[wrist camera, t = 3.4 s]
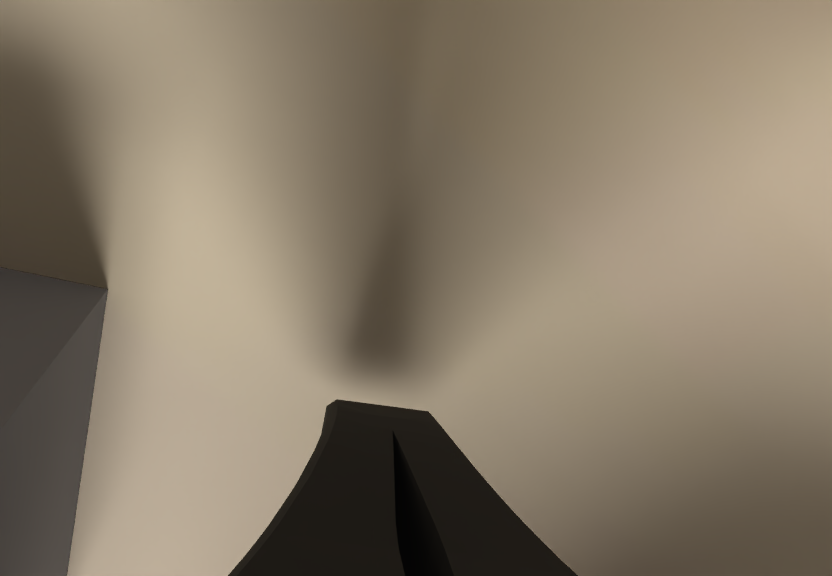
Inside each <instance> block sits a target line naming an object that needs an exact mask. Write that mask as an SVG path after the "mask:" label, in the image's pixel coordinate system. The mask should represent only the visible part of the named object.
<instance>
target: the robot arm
mask: <svg viewBox="0 0 832 576" xmlns="http://www.w3.org/2000/svg"><path fill="white" fill-rule="evenodd" d="M228 576H578V575H576V574H575V573H574V572H573V571H572V570H571V569H570V568H569V567H568V566H567V565H566V564H565V563H563V562H562V561H561V560H560V559H559V558H558V557H557V556H556V555H555V554H554V553H553V552H552V551H551V550H550V549H549V548H548V547H547V546H546V545H545V544H544V543H543V542H542V541H541V540H540V539H539V538H538V537H537V536H536V535H535V534H534V533H533V532H532V531H531V530H530V529H529V528H528V527H527V526H526V525H525V524H524V523H523V521H522V520H521V519H520V518H519V517H518V516H517V515H516V514H515V513H514V512H513V511H512V510H511V509H510V508H509V506H508V505H507V504H506V503H505V502H504V501H503V500H502V499H501V498H500V496H499V495H498V494H497V493H496V492H495V491H494V490H493V488H492V487H491V486H490V485H489V484H488V483H487V482H486V480H485V479H484V478H483V477H482V476H481V474H480V473H479V472H478V471H477V470H476V469H475V467H474V466H473V465H472V464H471V463H470V461H469V460H468V459H467V458H466V456H465V455H464V454H463V453H462V452H461V450H460V449H459V448H458V447H457V445H456V444H455V443H454V442H453V440H452V439H451V438H450V437H449V436H448V434H447V433H446V432H445V431H444V429H443V428H442V427H441V426H440V424H439V423H438V422H437V421H436V420H435V418H434V417H433V416H432V415H431V414H430V413H429V412H428V411H421V410H413V409H405V408H398V407H390V406H382V405H375V404H367V403H360V402H352V401H344V400H335V401H334V402H332V403H331V404H329V405H328V406H327V407H326V412H325V418H324V423H323V428H322V434H321V436H320V439H319V441H318V443H317V446H316V448H315V450H314V452H313V454H312V456H311V458H310V460H309V462H308V463H307V465H306V467H305V469H304V471H303V473H302V475H301V476H300V478H299V480H298V482H297V484H296V485H295V487H294V488H293V490H292V492H291V493H290V495H289V496H288V497H287V499H286V500H285V502H284V503H283V505H282V506H281V508H280V509H279V511H278V512H277V514H276V515H275V517H274V518H273V520H272V521H271V523H270V524H269V525H268V527H267V528H266V530H265V531H264V532H263V534H262V535H261V536H260V537H259V539H258V540H257V541H256V543H255V544H254V545H253V546H252V548H251V549H250V550H249V551H248V553H247V554H246V555H245V556H244V558H243V559H242V560H241V561H240V562H239V563H238V565H237V566H236V567H235V568H234V569H233V570H232V572H231V573H230V574H229V575H228Z"/></svg>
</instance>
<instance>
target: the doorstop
mask: <svg viewBox="0 0 832 576" xmlns="http://www.w3.org/2000/svg"><path fill="white" fill-rule="evenodd" d="M107 293H108V289H104V288H100V287H95V286H90V285H85V284H80V283H75V282H70V281H65V280H60V279H55V278H51V277H46V276H41V275H36V274H31V273H26V272H21V271H16V270H11V269H7V268H2V267H0V576H67V571H68V564H69V557H70V550H71V543H72V536H73V529H74V522H75V515H76V509H77V502H78V495H79V488H80V481H81V474H82V467H83V460H84V453H85V446H86V439H87V432H88V425H89V418H90V411H91V404H92V397H93V390H94V383H95V376H96V369H97V362H98V355H99V348H100V341H101V334H102V328H103V321H104V314H105V307H106V300H107Z"/></svg>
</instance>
